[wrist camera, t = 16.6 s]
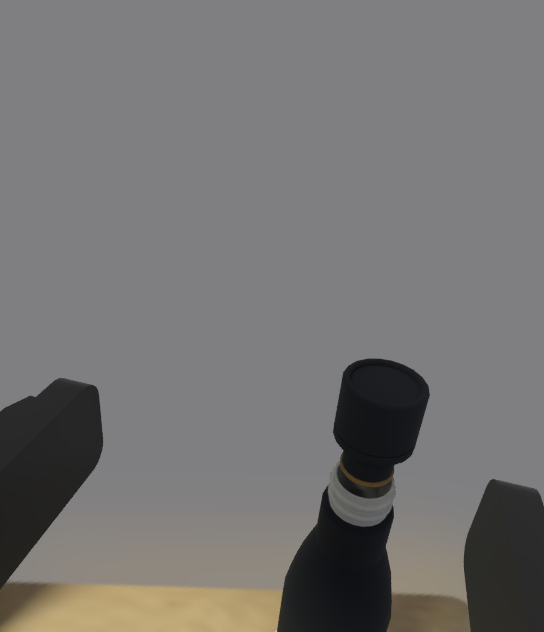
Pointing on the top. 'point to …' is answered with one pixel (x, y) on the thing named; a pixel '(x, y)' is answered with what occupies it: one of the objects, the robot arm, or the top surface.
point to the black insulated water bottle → (357, 505)
